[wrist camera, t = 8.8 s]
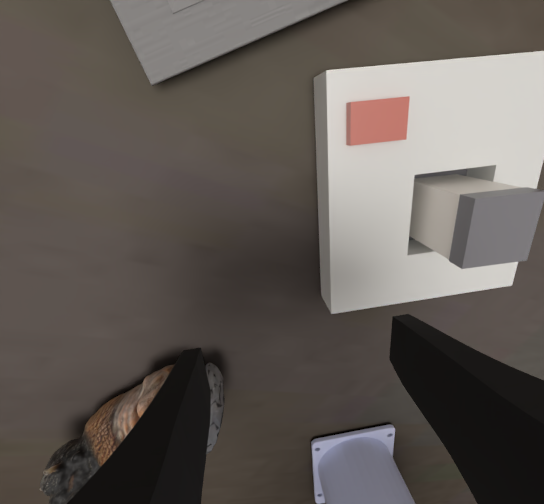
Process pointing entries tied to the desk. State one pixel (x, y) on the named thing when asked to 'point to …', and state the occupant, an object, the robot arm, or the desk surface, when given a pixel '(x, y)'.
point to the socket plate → (416, 167)
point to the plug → (474, 219)
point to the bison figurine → (116, 434)
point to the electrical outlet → (203, 28)
